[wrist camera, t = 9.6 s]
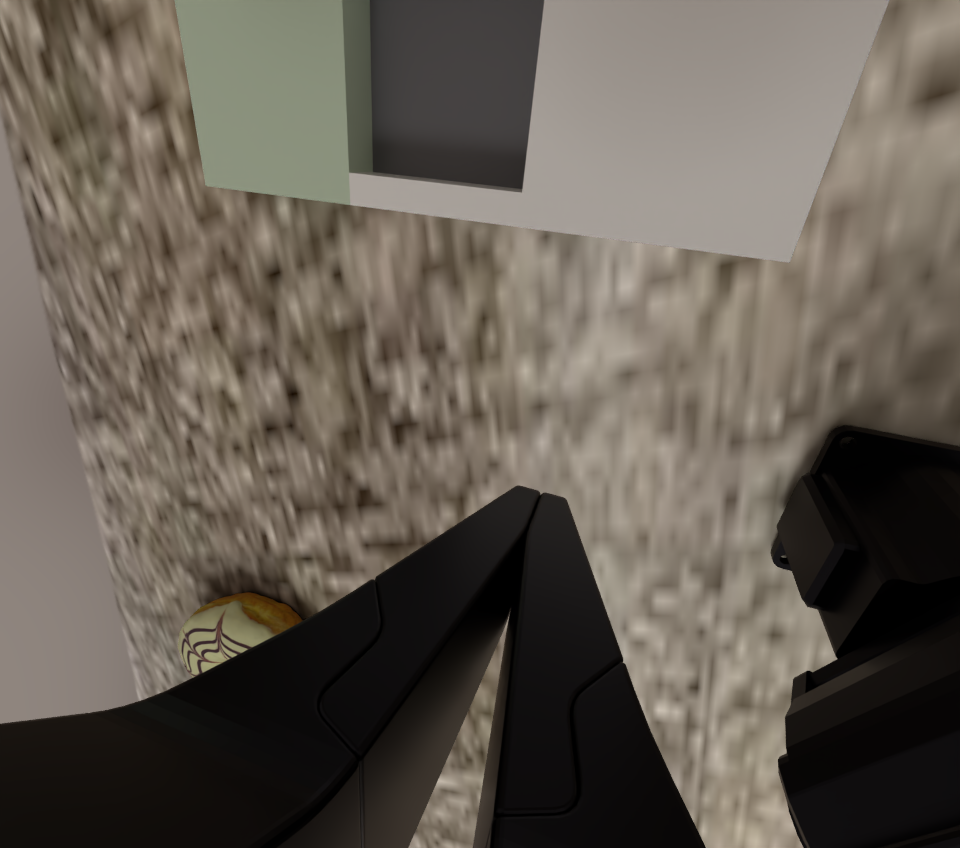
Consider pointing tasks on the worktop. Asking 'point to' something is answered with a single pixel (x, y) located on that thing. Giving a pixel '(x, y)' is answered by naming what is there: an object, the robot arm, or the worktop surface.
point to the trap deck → (535, 109)
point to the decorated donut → (231, 629)
